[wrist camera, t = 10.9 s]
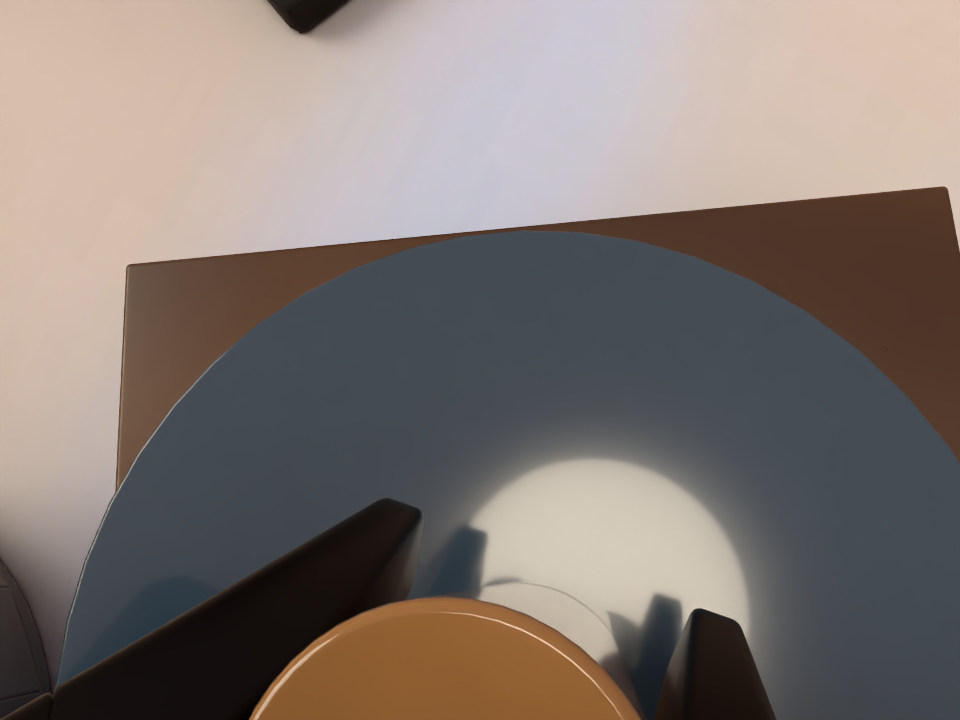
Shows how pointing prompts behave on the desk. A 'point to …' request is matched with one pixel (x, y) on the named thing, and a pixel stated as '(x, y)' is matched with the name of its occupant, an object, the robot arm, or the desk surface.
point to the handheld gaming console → (303, 11)
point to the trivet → (700, 233)
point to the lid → (554, 491)
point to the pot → (18, 650)
